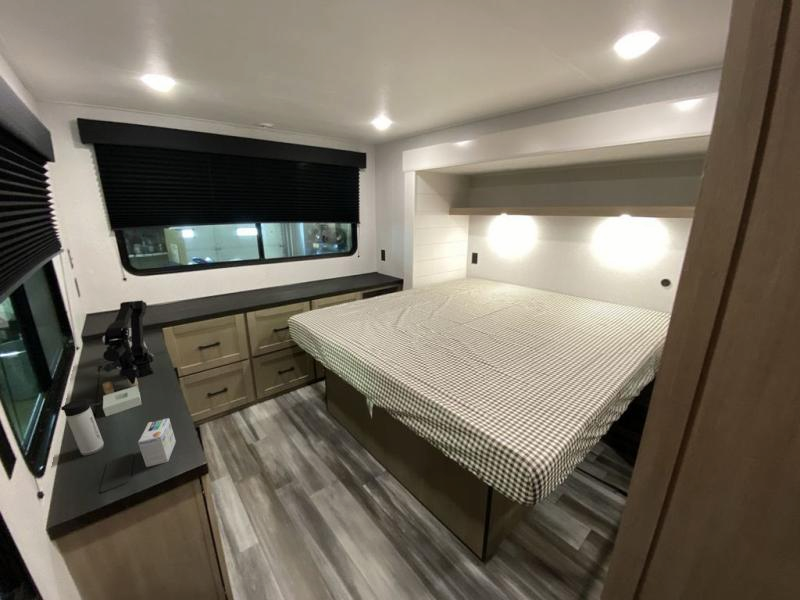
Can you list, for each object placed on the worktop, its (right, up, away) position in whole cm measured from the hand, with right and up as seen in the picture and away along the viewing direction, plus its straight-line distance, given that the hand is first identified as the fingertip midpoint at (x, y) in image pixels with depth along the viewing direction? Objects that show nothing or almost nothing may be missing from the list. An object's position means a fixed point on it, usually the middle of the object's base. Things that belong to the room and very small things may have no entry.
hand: (132, 380), depth 156 cm
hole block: (+6, -7, -12) cm, 15 cm away
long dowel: (0, -3, +1) cm, 4 cm away
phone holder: (-23, +4, +28) cm, 36 cm away
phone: (+35, -19, -48) cm, 63 cm away
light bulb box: (+44, -16, -41) cm, 62 cm away
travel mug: (+17, -16, -38) cm, 44 cm away
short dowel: (-7, -5, -4) cm, 10 cm away
